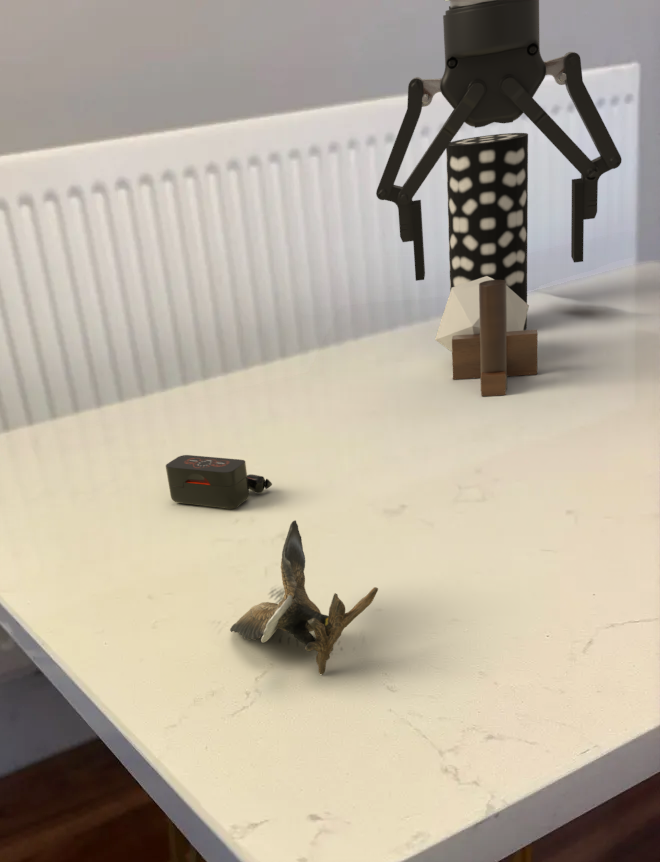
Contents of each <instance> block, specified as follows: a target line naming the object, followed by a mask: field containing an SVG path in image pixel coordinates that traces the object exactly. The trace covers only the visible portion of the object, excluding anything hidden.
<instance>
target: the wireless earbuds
mask: <svg viewBox="0 0 660 862" xmlns="http://www.w3.org/2000/svg"><path fill="white" fill-rule="evenodd" d="M165 470H166V476H167V482H168V487H169V488H168V489H169V495H170V499H171V500H172V501H173V503H177V504H185V505H186V504H187V505H193V506H194V505H195V506H201V507H202V506H203V507H209V508H218V509H219V508H220V509H228V510H234V509H236V508H238V507H239V506H240V505H242V504H243V503H245V502H246V501H247V500H248V499H249V498H250V491H252V492H253V493H255V494H261V493H262V492H264V490H268V489H269V488H270V487H272V486H273V483H272V481H271V480H269V479H268V478H265V477H264V476H263V475H258V474H252V473H250V474H248V472H247V463H246V461H245V460H244V459H237V458H229V457H214V456H202V455H191V454H182V455H180V456H177V457H176V458H174V459H172V460H170V461H169V462H167V463H166V464H165Z"/></svg>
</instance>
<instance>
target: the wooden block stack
mask: <svg viewBox="0 0 660 862" xmlns="http://www.w3.org/2000/svg"><path fill="white" fill-rule="evenodd" d="M479 317H480V334H474V335H473V334H468V335H454V336H453V337H452V352H451V354H452V355H451V359H452V360H451V361H452V362H451V364H452V365H451V366H452V380H467V379H469V380H470V379H480V396H481V397H495V396H506V394H507V390H508V377H516V376H519V377H520V376H536V375H538V349H539V348H538V346H539V345H538V343H539V341H538V337H539V336H538V335H539V333H538V329H525V330H523V331H509V332H507V293H506V281H504V280H489V281H484V282H481V283H480V284H479Z"/></svg>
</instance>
